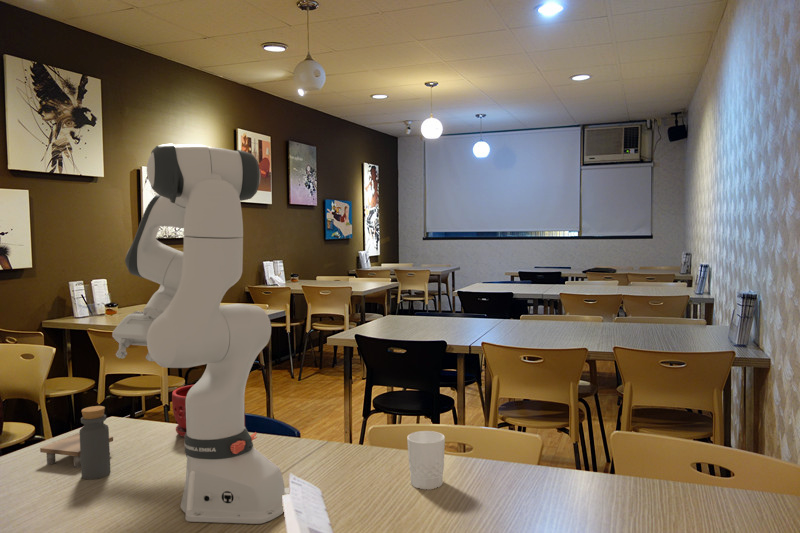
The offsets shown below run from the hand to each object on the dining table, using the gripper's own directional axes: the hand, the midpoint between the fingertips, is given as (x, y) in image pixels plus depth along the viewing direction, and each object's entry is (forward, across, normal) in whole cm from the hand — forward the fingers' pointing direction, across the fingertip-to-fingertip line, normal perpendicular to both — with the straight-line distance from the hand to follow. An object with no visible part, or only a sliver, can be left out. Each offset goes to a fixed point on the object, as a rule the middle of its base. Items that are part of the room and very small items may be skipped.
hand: (134, 358), depth 148 cm
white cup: (+11, +72, +22) cm, 76 cm away
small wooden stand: (+22, -12, +12) cm, 28 cm away
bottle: (+26, +1, +8) cm, 27 cm away
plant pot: (+4, +3, +30) cm, 31 cm away
